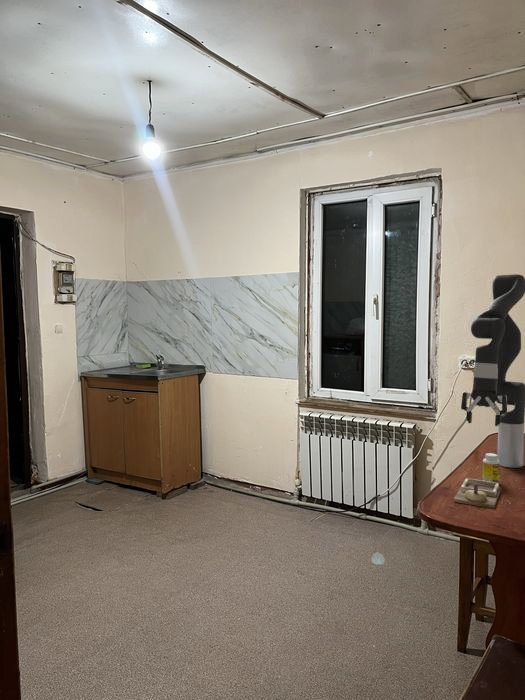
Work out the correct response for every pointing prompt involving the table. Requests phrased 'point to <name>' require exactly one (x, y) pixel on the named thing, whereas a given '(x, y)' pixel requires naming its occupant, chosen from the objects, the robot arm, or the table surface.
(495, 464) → the supplement bottle
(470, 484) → the board
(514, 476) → the table surface
